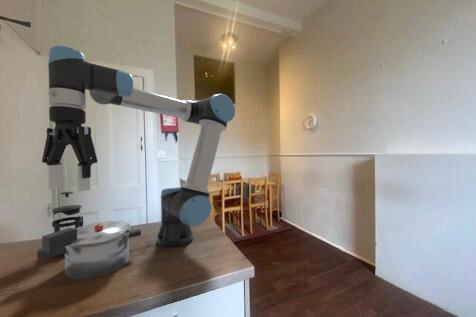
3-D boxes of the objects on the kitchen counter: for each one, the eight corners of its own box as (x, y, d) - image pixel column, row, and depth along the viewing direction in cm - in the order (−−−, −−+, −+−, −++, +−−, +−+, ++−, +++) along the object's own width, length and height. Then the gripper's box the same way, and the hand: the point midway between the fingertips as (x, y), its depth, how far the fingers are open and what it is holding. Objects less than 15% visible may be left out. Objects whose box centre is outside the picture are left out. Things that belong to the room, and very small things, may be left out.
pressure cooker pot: (136, 244, 85) (135, 220, 84) (145, 262, 70) (145, 233, 70) (44, 266, 68) (43, 236, 68) (32, 296, 53) (31, 258, 53)
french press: (66, 257, 74) (65, 194, 73) (42, 256, 74) (41, 194, 74) (92, 243, 85) (91, 189, 85) (71, 243, 86) (70, 189, 86)
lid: (104, 222, 81) (104, 210, 81) (142, 227, 75) (142, 214, 75) (24, 249, 58) (24, 232, 58) (69, 259, 52) (69, 241, 52)
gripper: (23, 108, 55) (24, 189, 55) (83, 100, 47) (85, 194, 48) (56, 113, 62) (57, 185, 62) (112, 108, 54) (113, 189, 55)
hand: (69, 189), depth 55 cm, fingers open, 11 cm apart
